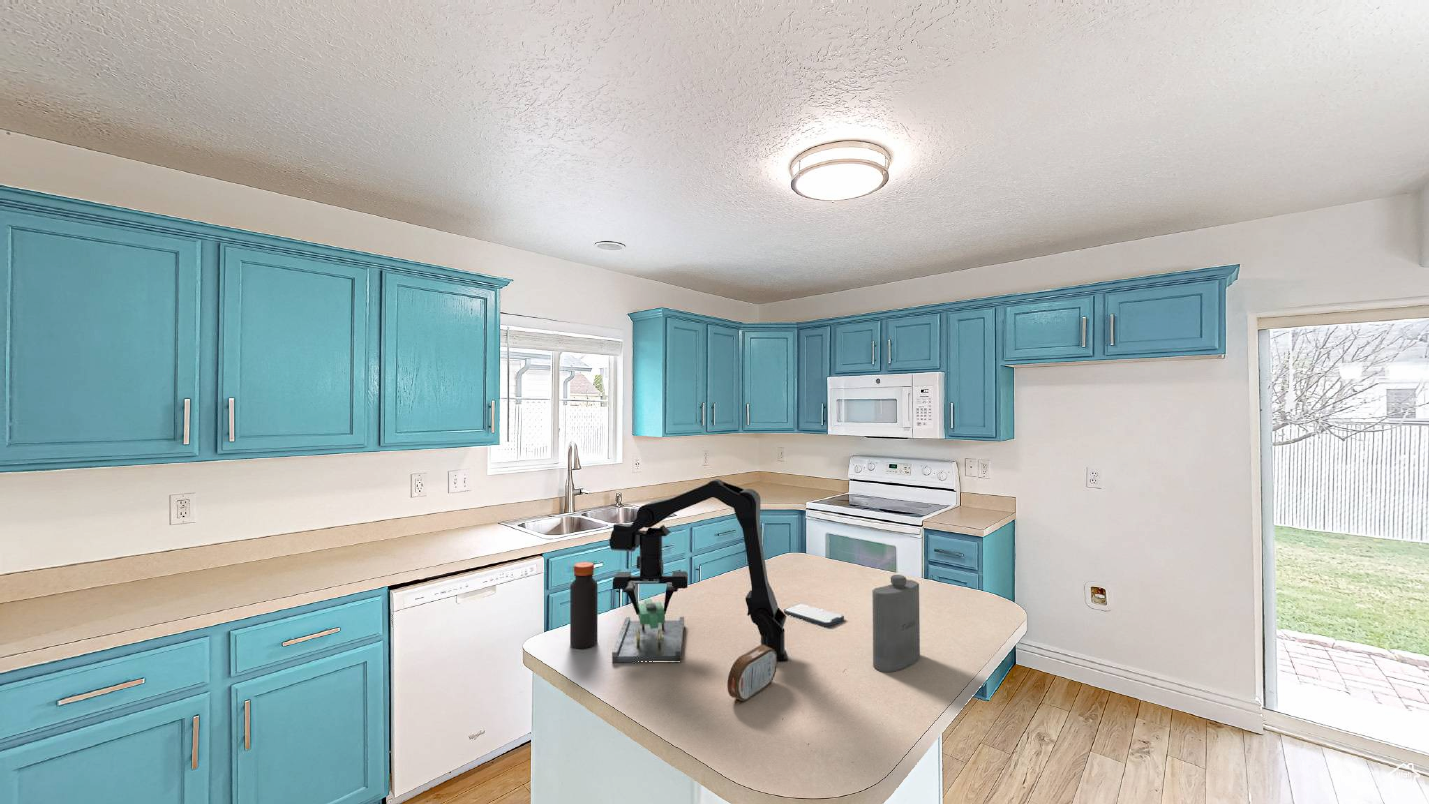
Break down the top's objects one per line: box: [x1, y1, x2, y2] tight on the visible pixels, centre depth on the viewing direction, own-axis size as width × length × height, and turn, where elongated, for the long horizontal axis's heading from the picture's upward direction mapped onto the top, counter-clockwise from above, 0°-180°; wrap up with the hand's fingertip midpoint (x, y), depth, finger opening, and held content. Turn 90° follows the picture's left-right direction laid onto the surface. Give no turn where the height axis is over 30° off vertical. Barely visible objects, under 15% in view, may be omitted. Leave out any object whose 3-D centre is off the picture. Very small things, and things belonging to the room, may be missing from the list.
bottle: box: [569, 561, 599, 650], centre depth 140 cm, size 7×7×20 cm
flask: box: [871, 574, 921, 673], centre depth 129 cm, size 15×6×20 cm, turn 129°
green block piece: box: [637, 598, 666, 629], centre depth 140 cm, size 14×6×3 cm, turn 13°
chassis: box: [611, 616, 685, 664], centre depth 140 cm, size 22×16×5 cm
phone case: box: [783, 603, 845, 628], centre depth 158 cm, size 9×2×16 cm
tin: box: [726, 644, 778, 702], centre depth 116 cm, size 15×3×8 cm, turn 141°
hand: (651, 614), depth 140 cm, fingers closed on green block piece, 6 cm apart
